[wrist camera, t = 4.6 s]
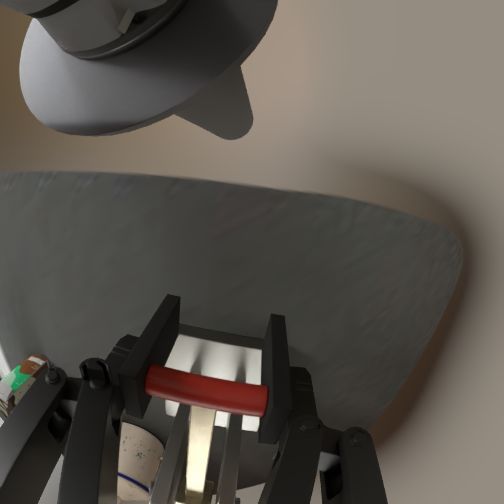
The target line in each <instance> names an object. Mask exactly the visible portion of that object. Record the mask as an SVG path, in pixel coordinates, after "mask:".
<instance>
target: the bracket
mask: <svg viewBox="0 0 504 504" xmlns="http://www.w3.org/2000/svg"><path fill="white" fill-rule="evenodd" d="M263 344H264V340H263V339H257V338H251V337H245V336H239V335H233V334H228V333H222V332H217V331H212V330H207V329H202V328H197V327H192V326H188V325H183V324H179V335H178V338H177V340H176V342H175V344H174V347H173V349H172V351H171V353H170V356H169V358H168V360H167V362H166V365H165V367H169V368H173V369H177V370H181V371H186V372H190V373H195V374H199V375H204V376H209V377H214V378H220V379H225V380H231V381H237V382H243V383H250V384H257V385H261V353H262V347H263ZM165 406H166V415H170V416H174V417H175V419H174V422H173V425H172V428H171V432H170V435H169V438H168V441H167V444H166V448H165V451H164V454H163V457H162V461H161V464H160V467H159V471H158V474H157V477H156V481H152V483H151V485H150V489H149V497H151V498H150V501H149V503H150V504H174V500H175V496H176V492H177V487H178V483H179V479H180V475H181V471H182V467H183V463H184V458H185V454H186V450H187V446H188V434H189V420H190V407H191V406H190V405H186V404H182V403H177V402H173V401H169V400H166V399H165ZM215 425H216V426H222V427H226V432H225V439H224V446H223V453H222V460H221V467H220V474H219V482H218V489H217V496H216V503H215V504H240V498H235V496H236V486H237V476H238V465H239V454H240V443H241V433H242V430H249V431H257V430H258V428H259V417H253V416H246V415H239V414H232V413H226V412H220V411H217V413H216V419H215Z"/></svg>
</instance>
